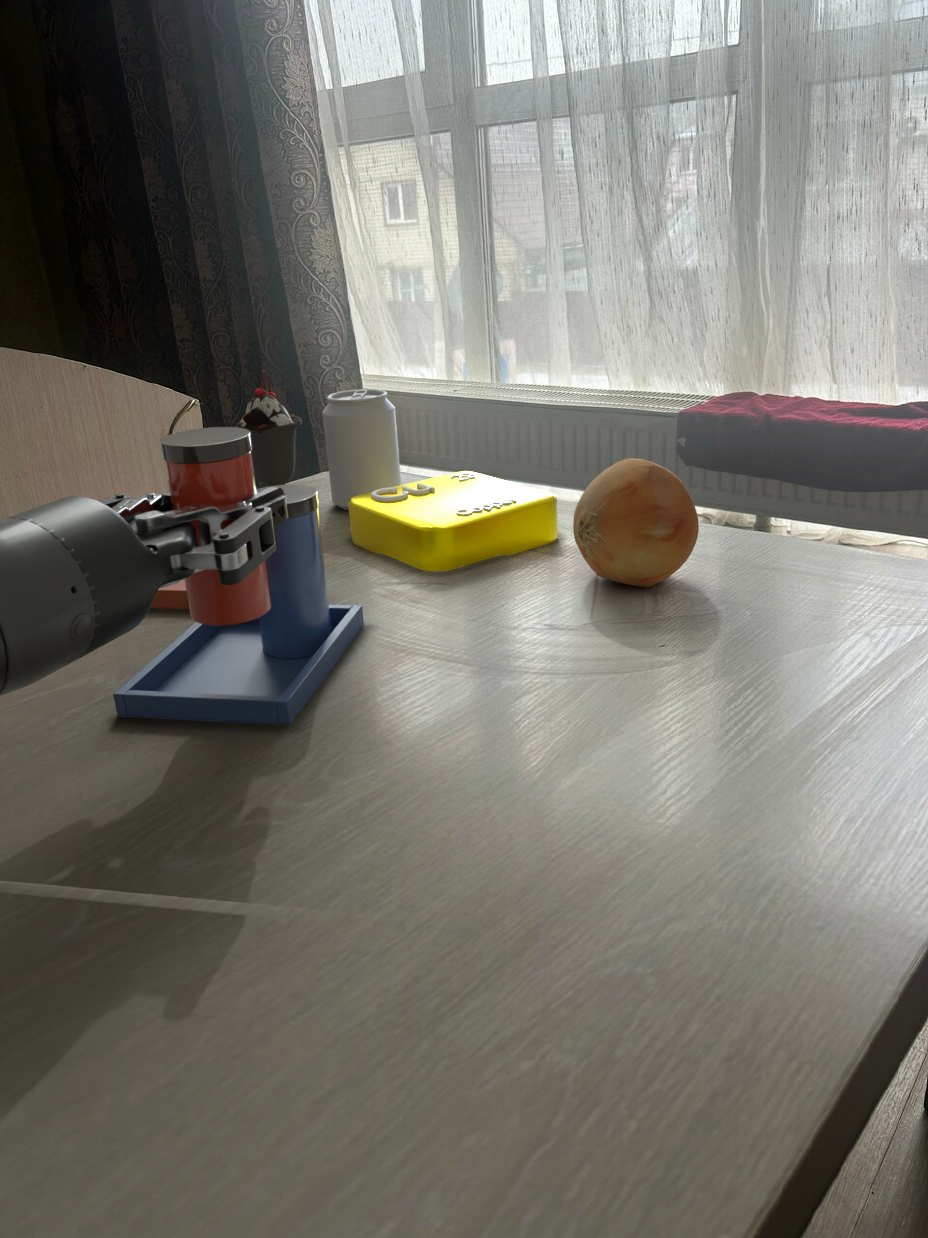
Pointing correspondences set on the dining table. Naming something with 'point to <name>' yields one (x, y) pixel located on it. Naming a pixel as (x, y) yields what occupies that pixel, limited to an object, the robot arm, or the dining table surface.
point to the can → (360, 444)
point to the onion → (636, 523)
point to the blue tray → (233, 675)
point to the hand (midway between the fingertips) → (242, 500)
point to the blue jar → (297, 581)
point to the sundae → (270, 437)
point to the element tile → (453, 520)
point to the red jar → (217, 477)
